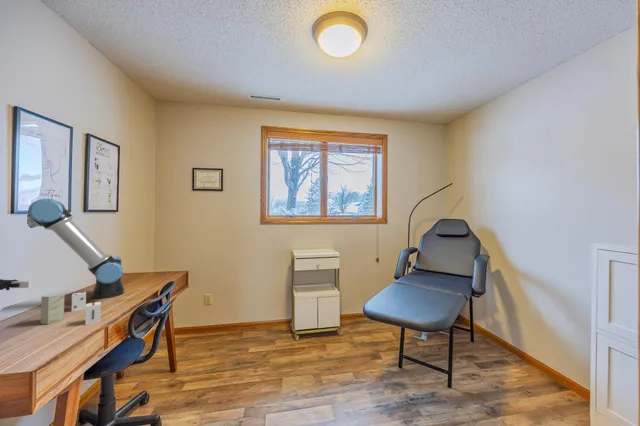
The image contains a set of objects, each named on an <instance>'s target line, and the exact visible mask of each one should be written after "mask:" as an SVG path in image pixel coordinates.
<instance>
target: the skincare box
mask: <svg viewBox="0 0 640 426" xmlns="http://www.w3.org/2000/svg"><path fill="white" fill-rule="evenodd" d="M65 294H66V293H64V292H56V293H52V294H46V295H42V296H41V304H40V305H41V306H40V324H41V325H42V324H43V325H50V324H53V323H56V322H60V321H63V320H64V317H65Z"/></svg>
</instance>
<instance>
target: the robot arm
mask: <svg viewBox="0 0 640 426" xmlns="http://www.w3.org/2000/svg"><path fill="white" fill-rule="evenodd" d="M27 211H28V213H29V214H28V215H27V218H28V219H27V224H28V226H29V227H30V228H33V229H35V228H36V227H43V228H44V229H45V230H48V231H49V230H50V231H53V233H55V234H56V235H57V236H58V237H59V238H60V239H61V240H62V242H64V243H65V244H67V246H68V247H69V248H70V249H72V251H73V252H74V253H75V254H76V255H78V256H79V257H80V258H81V259H82V260H83V261H84V262H85V263H86V264H87V265H88V266H87V270H88V271H89V272H90V273H91V274H92V275H94V277H95V285H94V288H93V290H92V292H91V298H92V299H106V298H113V297H117V296H120V295H122V294H124V293H125V288H124V285H123V283H122V276H123V272H124V269H123V265H122V260H123V259H122V257H121V256H112V255H111V254H106V253H104V252H103V250H102V249H100V247H98V245H97V244H96V243H95V242H94V241H93V240H92V239H91V238H90V237H89V236H88V235H87V234H86V233H85V232H84V231H83V230H82V229H81V228H80V227H79V226H78V225H77V224H76V223H75V222H74V221H73V214H71V213H70V212H69V210H67V209H66V207H65V205H64V203H62V202H60V201H57V200H56V199H52V198H41V199H37V200H35V201H34V202H32V203H31V204H30V205H29V206H28V209H27ZM34 227H35V228H34ZM32 282H33V281H32V280H18V279H1V278H0V291H3V290H5V291H10V289H30V288H32Z"/></svg>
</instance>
